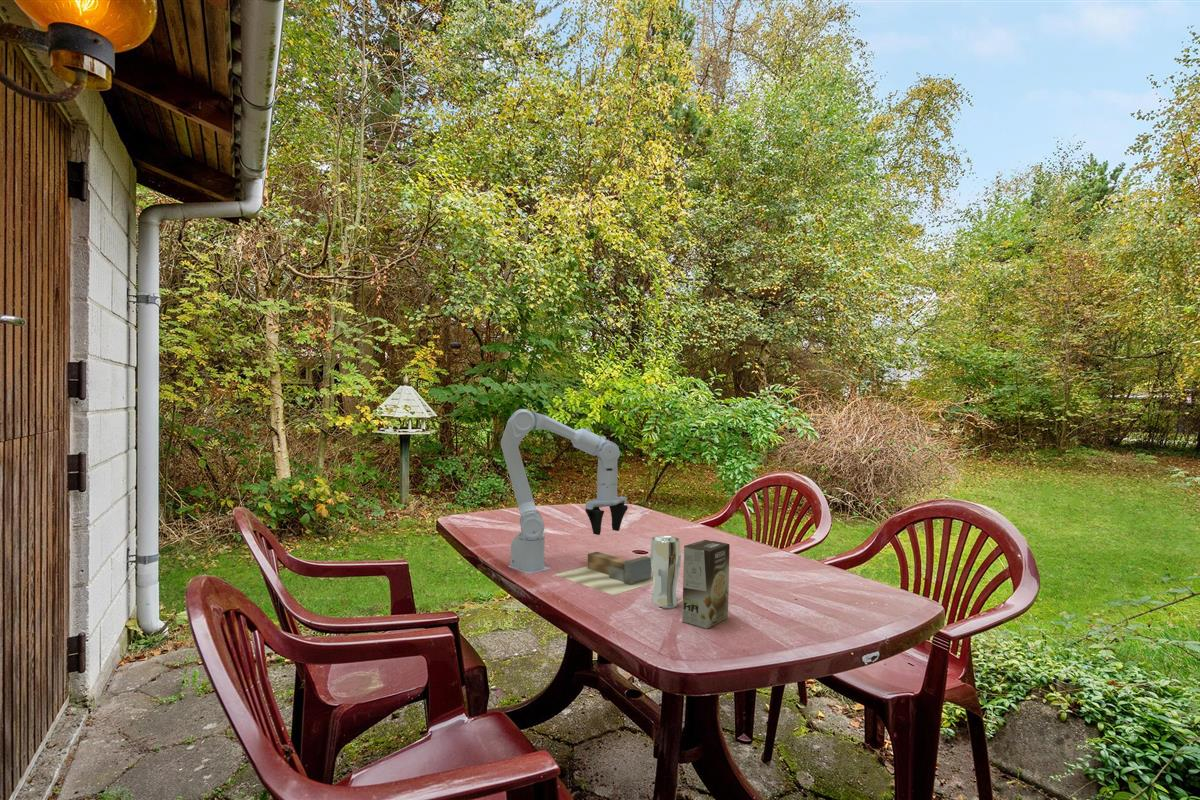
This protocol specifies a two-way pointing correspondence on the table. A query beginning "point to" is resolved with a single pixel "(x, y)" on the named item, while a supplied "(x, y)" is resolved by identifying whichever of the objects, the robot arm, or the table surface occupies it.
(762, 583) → the table surface
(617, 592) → the board
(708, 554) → the coffee box
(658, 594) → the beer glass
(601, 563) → the brown wooden block
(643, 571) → the bracket
